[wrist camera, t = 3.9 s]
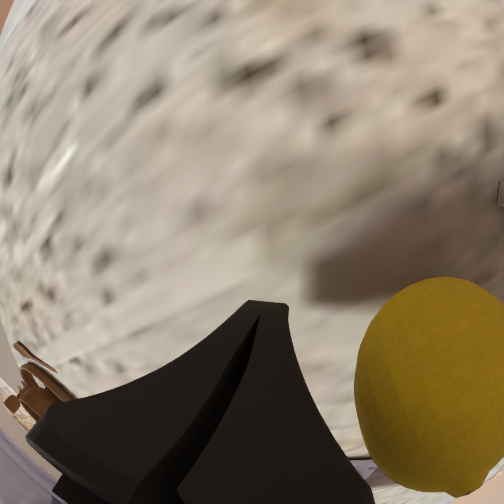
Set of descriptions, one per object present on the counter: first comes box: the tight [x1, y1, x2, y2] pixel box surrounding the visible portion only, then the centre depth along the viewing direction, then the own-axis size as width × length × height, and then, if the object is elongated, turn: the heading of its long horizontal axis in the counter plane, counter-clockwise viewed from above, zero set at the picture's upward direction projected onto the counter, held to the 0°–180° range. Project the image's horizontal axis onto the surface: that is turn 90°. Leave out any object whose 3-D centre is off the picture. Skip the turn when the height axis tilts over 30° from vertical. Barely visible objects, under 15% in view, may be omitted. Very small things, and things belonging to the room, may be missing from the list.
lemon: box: [354, 276, 504, 498], centre depth 6 cm, size 6×6×8 cm
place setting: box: [4, 343, 74, 422], centre depth 22 cm, size 18×20×6 cm
